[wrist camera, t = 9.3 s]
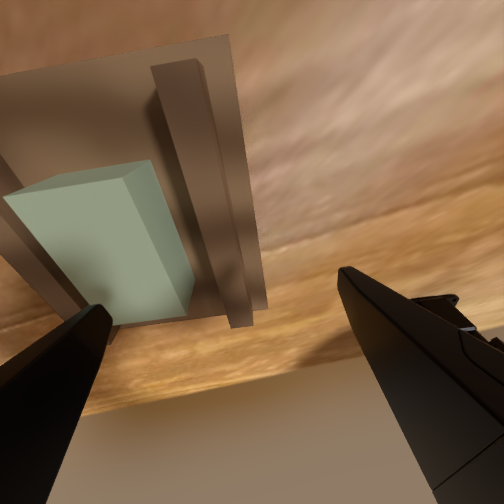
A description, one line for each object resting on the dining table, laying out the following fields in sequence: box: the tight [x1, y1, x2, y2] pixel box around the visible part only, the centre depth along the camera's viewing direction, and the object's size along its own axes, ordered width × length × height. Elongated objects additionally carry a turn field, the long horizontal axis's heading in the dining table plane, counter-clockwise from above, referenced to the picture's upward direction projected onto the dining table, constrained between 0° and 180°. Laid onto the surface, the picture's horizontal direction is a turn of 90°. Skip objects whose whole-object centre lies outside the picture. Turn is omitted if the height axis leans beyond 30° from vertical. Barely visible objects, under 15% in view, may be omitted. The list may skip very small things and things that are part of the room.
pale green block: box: [3, 160, 195, 326], centre depth 15 cm, size 10×6×4 cm, turn 8°
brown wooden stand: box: [0, 34, 268, 345], centre depth 17 cm, size 20×18×4 cm
